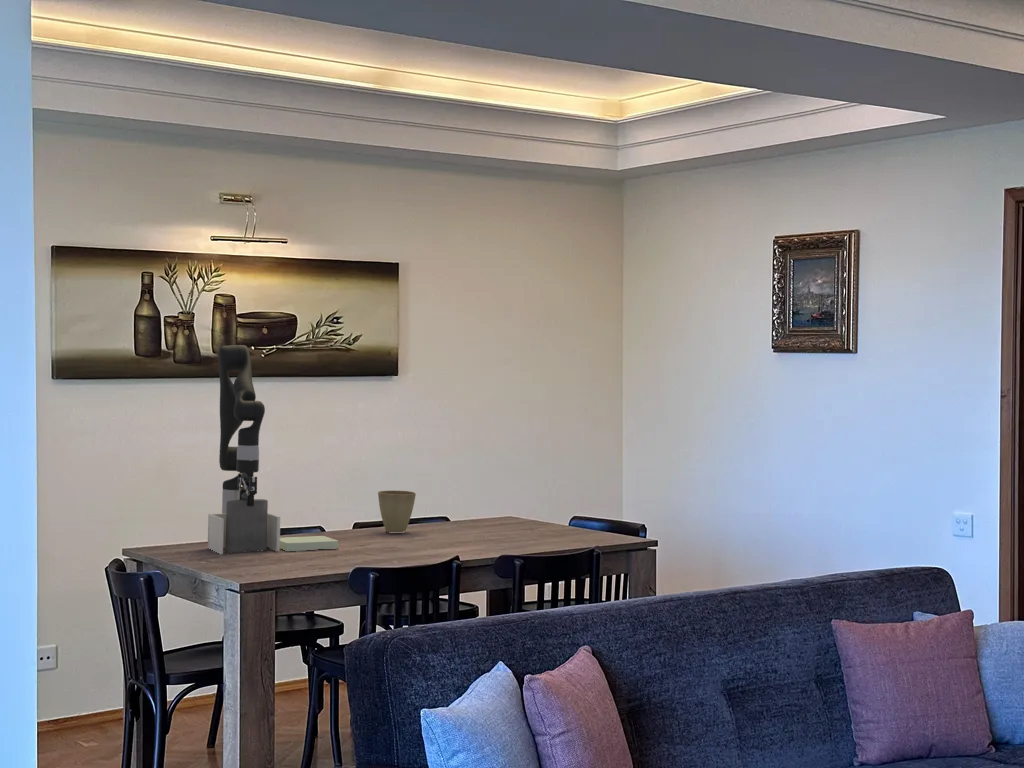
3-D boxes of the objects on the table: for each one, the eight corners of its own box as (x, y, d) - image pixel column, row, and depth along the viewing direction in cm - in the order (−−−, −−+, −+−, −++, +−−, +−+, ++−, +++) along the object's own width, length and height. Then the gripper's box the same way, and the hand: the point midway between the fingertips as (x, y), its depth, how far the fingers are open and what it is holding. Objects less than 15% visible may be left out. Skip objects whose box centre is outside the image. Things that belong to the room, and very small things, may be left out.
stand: (273, 546, 438) (273, 538, 438) (323, 544, 448) (323, 535, 448) (286, 551, 426) (287, 543, 426) (338, 549, 436) (338, 540, 436)
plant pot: (370, 533, 480) (371, 492, 480) (385, 529, 495) (386, 489, 494) (406, 536, 476) (407, 495, 476) (420, 531, 490) (421, 491, 490)
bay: (207, 548, 429) (208, 514, 429) (265, 545, 439) (266, 512, 439) (219, 554, 416) (220, 518, 416) (279, 551, 427) (280, 516, 427)
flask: (261, 548, 433) (262, 491, 433) (268, 550, 428) (270, 493, 428) (221, 551, 423) (223, 493, 423) (229, 553, 419) (230, 494, 419)
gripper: (231, 456, 430) (229, 503, 430) (243, 459, 418) (242, 507, 418) (251, 456, 434) (250, 502, 434) (265, 459, 421) (263, 506, 421)
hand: (246, 505), depth 426 cm, fingers open, 8 cm apart
